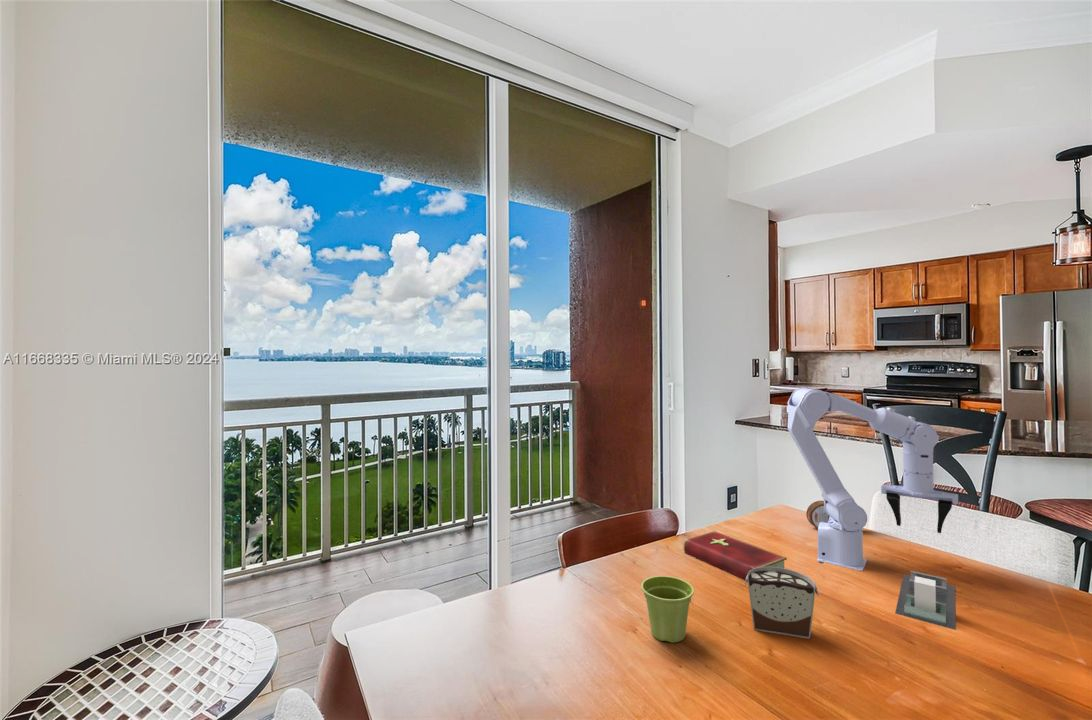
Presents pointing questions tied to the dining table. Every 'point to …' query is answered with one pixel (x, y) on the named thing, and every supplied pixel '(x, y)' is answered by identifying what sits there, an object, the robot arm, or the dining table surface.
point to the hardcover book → (730, 553)
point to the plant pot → (667, 606)
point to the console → (943, 601)
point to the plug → (925, 594)
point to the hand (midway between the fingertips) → (918, 528)
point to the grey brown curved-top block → (781, 601)
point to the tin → (817, 513)
